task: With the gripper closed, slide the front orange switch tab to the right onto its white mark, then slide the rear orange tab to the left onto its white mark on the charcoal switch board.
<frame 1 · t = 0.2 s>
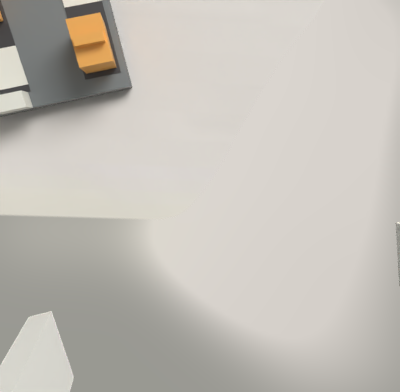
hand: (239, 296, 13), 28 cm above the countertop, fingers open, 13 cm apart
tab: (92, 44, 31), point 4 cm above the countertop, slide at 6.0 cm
switch board: (41, 20, 34), on the countertop
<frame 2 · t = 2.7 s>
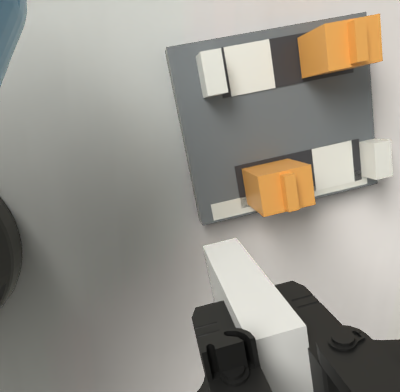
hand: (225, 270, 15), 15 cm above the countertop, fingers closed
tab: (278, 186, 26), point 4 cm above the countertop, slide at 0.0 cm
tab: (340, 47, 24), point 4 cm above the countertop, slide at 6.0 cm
switch board: (275, 121, 29), on the countertop
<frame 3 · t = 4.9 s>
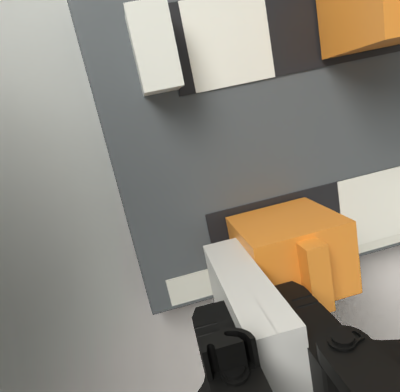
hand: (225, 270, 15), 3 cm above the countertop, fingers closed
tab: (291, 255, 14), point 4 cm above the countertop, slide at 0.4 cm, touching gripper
switch board: (274, 135, 17), on the countertop
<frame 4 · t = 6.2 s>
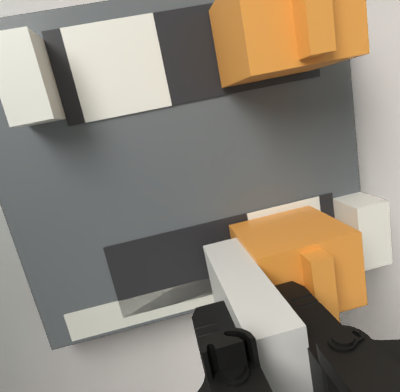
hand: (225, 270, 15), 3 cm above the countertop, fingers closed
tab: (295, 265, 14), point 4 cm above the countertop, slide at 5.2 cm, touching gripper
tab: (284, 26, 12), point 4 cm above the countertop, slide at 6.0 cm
switch board: (185, 162, 16), on the countertop
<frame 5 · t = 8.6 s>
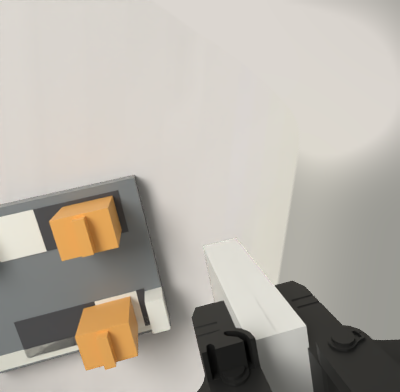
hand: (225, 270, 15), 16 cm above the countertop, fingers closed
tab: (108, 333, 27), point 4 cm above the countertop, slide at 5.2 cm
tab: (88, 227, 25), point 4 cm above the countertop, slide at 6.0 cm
switch board: (63, 272, 30), on the countertop
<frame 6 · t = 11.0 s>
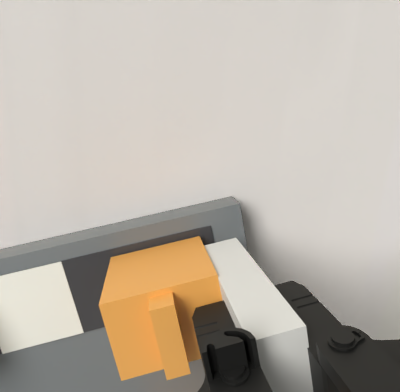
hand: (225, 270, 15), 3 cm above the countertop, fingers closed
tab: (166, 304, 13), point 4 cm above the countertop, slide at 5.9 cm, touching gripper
switch board: (107, 357, 18), on the countertop
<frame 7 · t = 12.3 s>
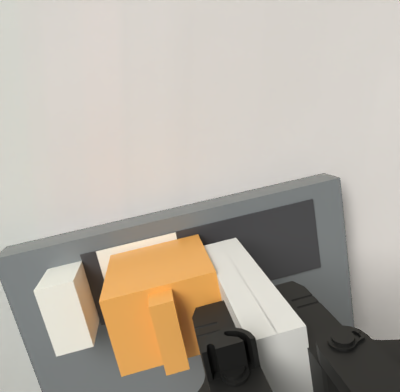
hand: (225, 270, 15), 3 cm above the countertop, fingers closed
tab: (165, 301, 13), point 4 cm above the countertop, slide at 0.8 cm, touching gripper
switch board: (200, 329, 18), on the countertop
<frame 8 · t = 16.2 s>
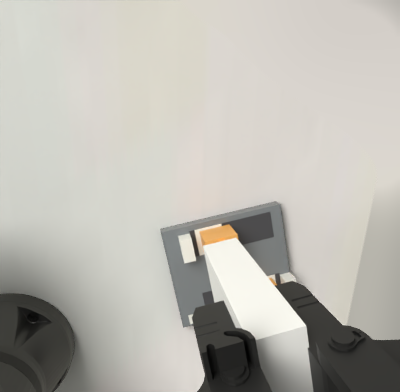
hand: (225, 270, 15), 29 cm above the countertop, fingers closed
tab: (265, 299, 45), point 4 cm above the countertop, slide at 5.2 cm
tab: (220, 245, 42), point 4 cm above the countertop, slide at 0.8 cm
switch board: (228, 262, 47), on the countertop
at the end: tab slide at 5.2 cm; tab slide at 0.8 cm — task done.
